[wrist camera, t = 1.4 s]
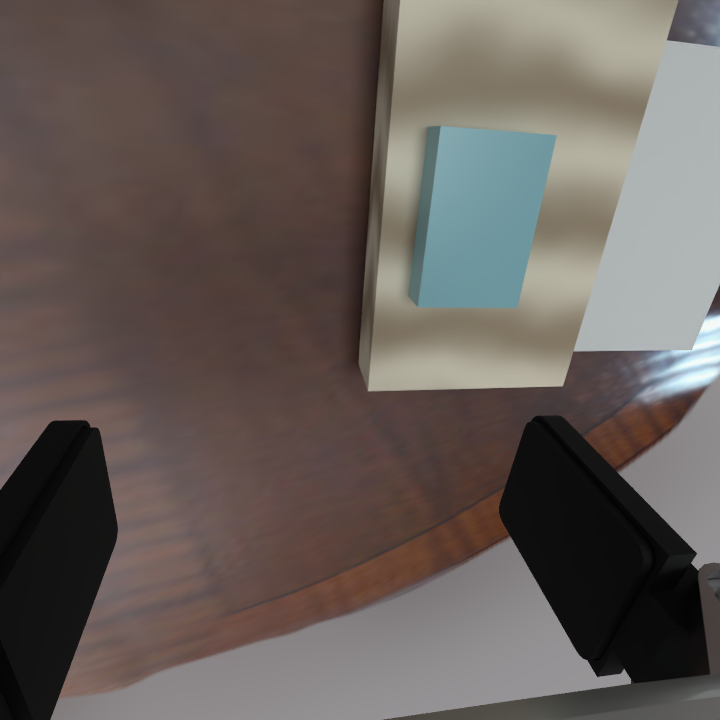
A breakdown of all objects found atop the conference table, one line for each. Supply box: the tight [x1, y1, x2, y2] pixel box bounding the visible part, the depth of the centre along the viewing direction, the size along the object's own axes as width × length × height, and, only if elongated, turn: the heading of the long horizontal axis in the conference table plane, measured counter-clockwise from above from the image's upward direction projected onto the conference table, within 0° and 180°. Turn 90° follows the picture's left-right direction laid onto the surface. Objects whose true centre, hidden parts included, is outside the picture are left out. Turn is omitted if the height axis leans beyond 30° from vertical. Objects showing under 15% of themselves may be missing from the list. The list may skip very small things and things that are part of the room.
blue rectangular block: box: [409, 126, 557, 308], centre depth 25 cm, size 9×6×2 cm, turn 176°
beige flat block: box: [358, 0, 678, 391], centre depth 28 cm, size 22×14×4 cm, turn 176°
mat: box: [574, 40, 720, 351], centre depth 32 cm, size 20×13×1 cm, turn 176°
